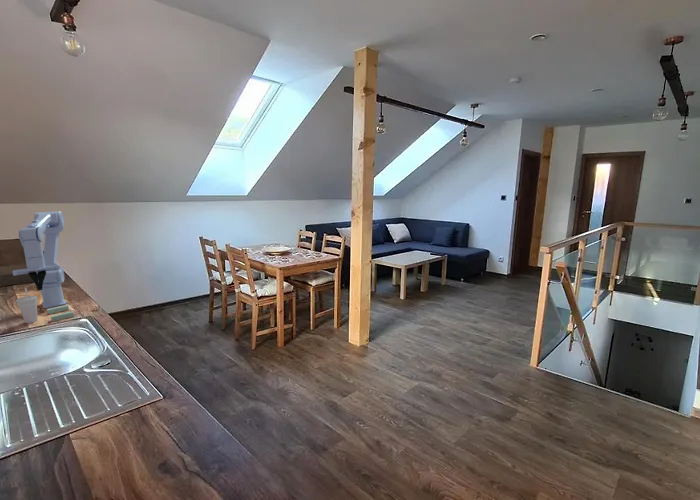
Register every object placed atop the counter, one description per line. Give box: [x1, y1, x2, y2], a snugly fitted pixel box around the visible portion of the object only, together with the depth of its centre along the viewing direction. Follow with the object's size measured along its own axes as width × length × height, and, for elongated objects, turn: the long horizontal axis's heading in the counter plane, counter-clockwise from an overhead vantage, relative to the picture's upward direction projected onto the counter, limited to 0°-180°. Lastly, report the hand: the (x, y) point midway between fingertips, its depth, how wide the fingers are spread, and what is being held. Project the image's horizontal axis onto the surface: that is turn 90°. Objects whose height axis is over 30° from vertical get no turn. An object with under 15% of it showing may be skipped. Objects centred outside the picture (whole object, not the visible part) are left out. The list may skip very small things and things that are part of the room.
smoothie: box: [15, 287, 38, 324], centre depth 145 cm, size 6×6×14 cm
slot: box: [46, 304, 75, 322], centre depth 153 cm, size 13×7×2 cm, turn 45°
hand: (39, 289), depth 152 cm, fingers closed
